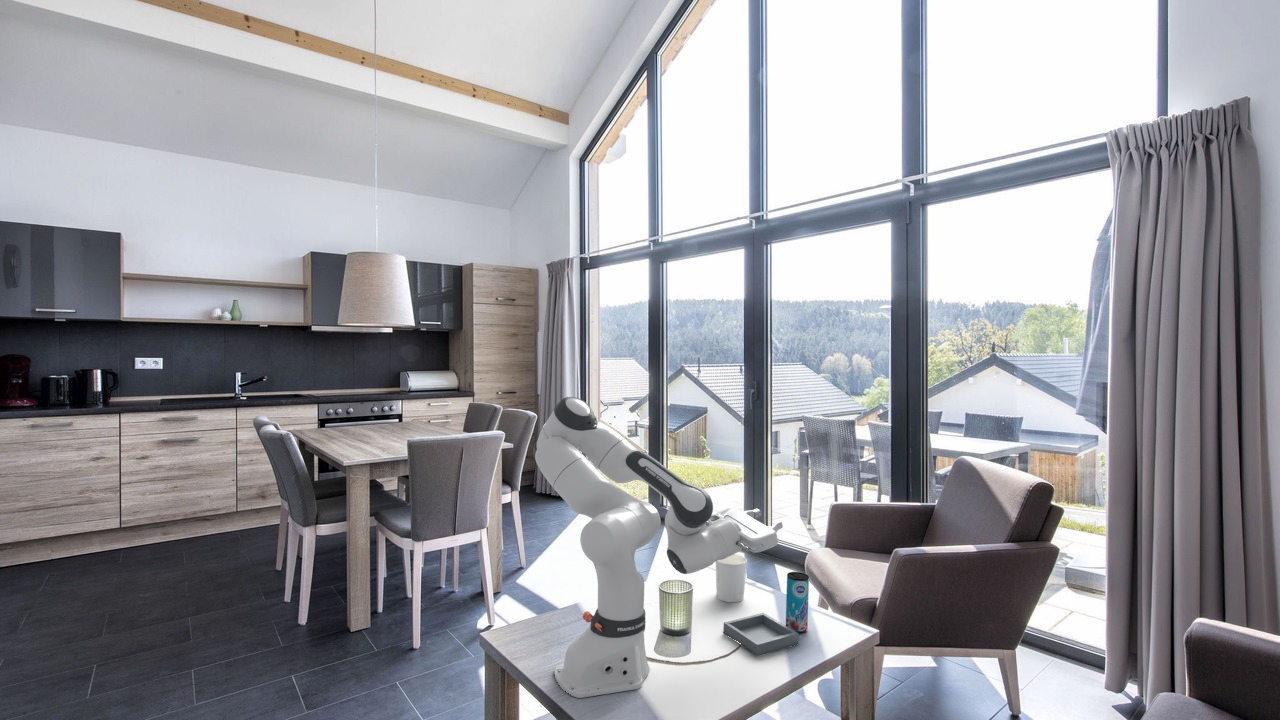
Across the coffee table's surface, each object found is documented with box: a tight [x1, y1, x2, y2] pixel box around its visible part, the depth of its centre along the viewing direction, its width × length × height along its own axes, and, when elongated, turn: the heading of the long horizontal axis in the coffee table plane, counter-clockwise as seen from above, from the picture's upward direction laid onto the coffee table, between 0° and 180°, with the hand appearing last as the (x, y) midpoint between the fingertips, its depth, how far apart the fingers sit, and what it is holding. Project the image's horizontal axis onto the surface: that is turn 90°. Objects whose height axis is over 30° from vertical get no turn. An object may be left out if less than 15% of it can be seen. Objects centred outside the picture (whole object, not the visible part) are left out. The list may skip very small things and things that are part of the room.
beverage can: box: [785, 571, 810, 634], centre depth 170 cm, size 6×6×15 cm
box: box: [722, 612, 800, 657], centre depth 163 cm, size 14×14×3 cm
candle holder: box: [715, 553, 748, 603], centre depth 191 cm, size 10×10×12 cm
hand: (769, 517), depth 164 cm, fingers open, 8 cm apart
